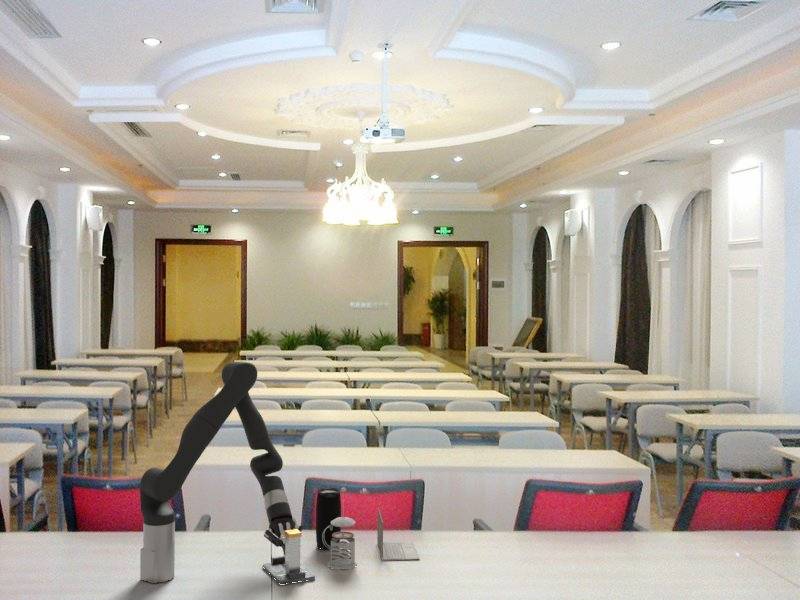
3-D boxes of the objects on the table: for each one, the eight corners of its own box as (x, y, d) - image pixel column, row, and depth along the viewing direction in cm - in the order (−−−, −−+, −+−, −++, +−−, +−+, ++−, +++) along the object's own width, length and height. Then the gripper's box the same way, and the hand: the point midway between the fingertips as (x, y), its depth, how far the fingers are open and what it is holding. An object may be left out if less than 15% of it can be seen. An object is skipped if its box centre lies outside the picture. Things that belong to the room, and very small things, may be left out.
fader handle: (301, 574, 254) (301, 532, 254) (288, 576, 252) (289, 534, 252) (296, 569, 258) (296, 528, 258) (283, 571, 256) (284, 530, 256)
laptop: (419, 560, 273) (420, 521, 273) (381, 561, 272) (381, 522, 271) (412, 543, 291) (413, 506, 290) (377, 544, 289) (377, 507, 289)
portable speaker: (338, 541, 291) (339, 486, 290) (341, 550, 282) (342, 493, 281) (314, 542, 289) (315, 486, 289) (316, 551, 280) (317, 493, 279)
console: (314, 580, 254) (314, 571, 253) (280, 585, 248) (280, 576, 248) (295, 562, 269) (295, 554, 269) (262, 567, 264) (262, 559, 264)
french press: (353, 571, 262) (354, 492, 261) (317, 568, 264) (318, 489, 263) (361, 561, 271) (362, 484, 271) (326, 558, 274) (327, 482, 273)
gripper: (260, 503, 262) (272, 553, 252) (299, 498, 268) (313, 547, 258) (254, 515, 267) (266, 565, 256) (294, 511, 273) (307, 559, 262)
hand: (290, 556), depth 257 cm, fingers closed
